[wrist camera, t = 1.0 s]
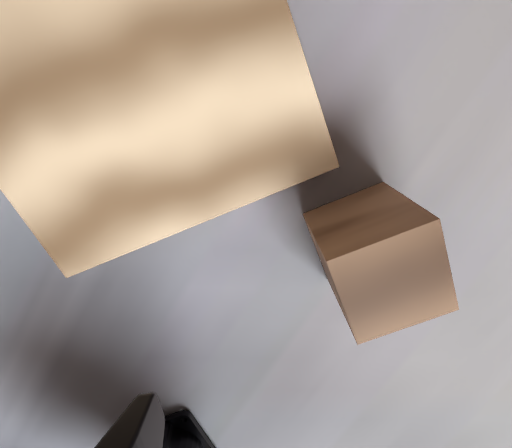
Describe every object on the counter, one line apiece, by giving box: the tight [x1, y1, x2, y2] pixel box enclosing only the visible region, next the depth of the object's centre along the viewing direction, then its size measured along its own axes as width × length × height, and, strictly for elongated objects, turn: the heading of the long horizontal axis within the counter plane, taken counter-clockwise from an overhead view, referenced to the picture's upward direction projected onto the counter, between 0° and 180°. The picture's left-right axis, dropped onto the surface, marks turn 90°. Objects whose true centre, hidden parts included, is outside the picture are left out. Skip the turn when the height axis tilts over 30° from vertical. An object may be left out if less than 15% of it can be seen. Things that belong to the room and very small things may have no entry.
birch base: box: [0, 0, 340, 278], centre depth 16 cm, size 16×16×2 cm
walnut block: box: [303, 182, 459, 344], centre depth 18 cm, size 5×5×6 cm
